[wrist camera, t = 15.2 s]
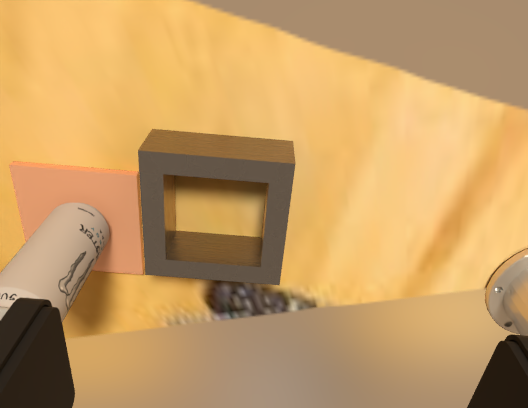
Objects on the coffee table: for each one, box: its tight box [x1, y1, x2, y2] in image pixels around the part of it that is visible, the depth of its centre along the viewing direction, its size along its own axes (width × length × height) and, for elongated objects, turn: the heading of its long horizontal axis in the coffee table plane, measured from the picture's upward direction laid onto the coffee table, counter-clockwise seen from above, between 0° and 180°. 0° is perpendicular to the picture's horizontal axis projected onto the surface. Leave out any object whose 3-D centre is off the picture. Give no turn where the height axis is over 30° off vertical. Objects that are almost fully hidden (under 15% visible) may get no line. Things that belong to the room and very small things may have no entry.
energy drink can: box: [0, 203, 109, 322], centre depth 39 cm, size 6×6×15 cm
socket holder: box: [138, 129, 295, 285], centre depth 42 cm, size 13×13×5 cm
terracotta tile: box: [9, 161, 145, 274], centre depth 46 cm, size 12×12×1 cm
